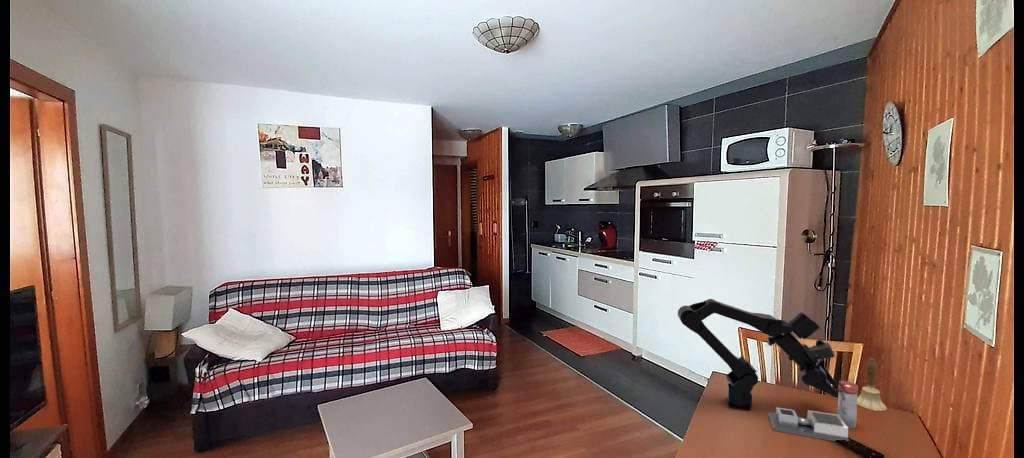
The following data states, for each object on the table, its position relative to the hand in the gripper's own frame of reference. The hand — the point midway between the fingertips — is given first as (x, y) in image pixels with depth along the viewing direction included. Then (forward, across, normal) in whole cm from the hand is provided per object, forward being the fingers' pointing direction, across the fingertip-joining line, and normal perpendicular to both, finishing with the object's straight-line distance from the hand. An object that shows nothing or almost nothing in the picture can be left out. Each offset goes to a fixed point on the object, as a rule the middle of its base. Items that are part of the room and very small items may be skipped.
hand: (836, 390), depth 126 cm
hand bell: (+14, +19, 0) cm, 24 cm away
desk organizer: (+2, -10, +12) cm, 16 cm away
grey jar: (+9, 0, +5) cm, 10 cm away
